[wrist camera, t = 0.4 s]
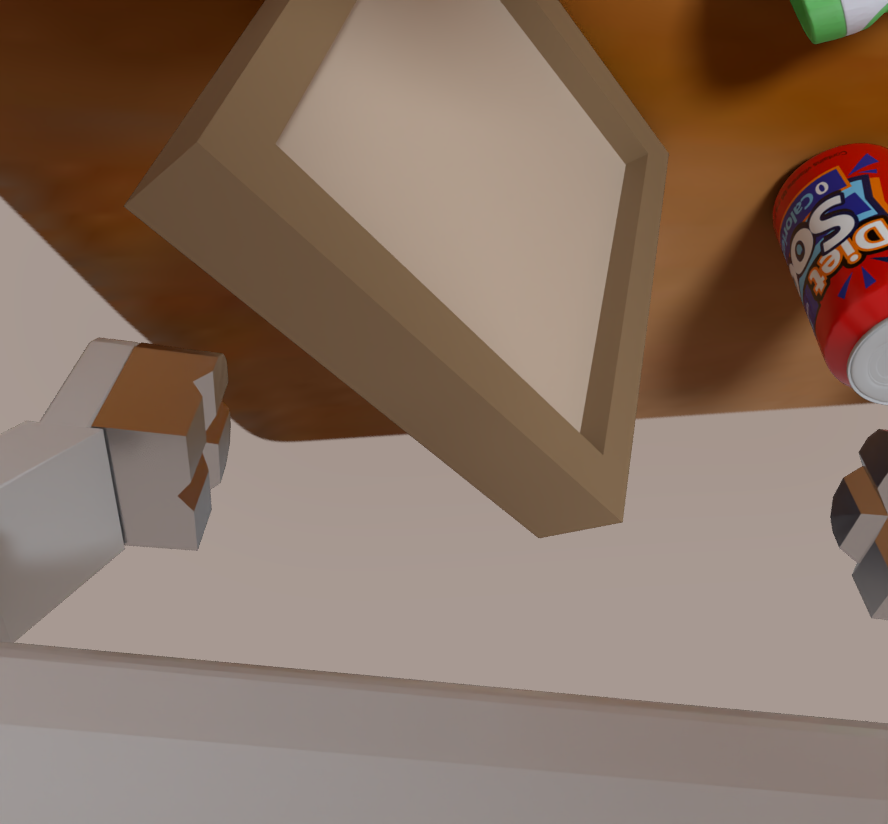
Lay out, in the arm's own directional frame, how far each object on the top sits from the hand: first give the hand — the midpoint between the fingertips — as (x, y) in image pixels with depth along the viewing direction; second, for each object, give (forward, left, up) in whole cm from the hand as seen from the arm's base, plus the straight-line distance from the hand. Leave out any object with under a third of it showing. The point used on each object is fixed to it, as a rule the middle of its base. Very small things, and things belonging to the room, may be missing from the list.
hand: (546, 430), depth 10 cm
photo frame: (+13, -2, -39) cm, 41 cm away
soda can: (+17, +22, -39) cm, 48 cm away
